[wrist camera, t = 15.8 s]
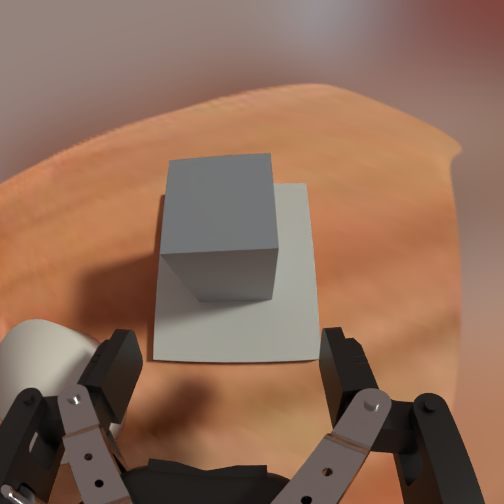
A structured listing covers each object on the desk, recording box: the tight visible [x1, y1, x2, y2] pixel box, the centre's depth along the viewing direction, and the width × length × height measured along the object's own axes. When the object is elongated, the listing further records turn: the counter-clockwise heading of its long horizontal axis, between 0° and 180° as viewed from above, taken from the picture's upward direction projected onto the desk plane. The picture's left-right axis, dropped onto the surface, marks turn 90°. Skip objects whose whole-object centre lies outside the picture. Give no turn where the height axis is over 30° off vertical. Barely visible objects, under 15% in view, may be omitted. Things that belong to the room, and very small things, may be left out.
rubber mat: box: [153, 183, 320, 362], centre depth 20 cm, size 10×12×1 cm
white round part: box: [0, 319, 127, 464], centre depth 15 cm, size 9×9×4 cm
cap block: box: [160, 153, 279, 302], centre depth 16 cm, size 4×4×8 cm
